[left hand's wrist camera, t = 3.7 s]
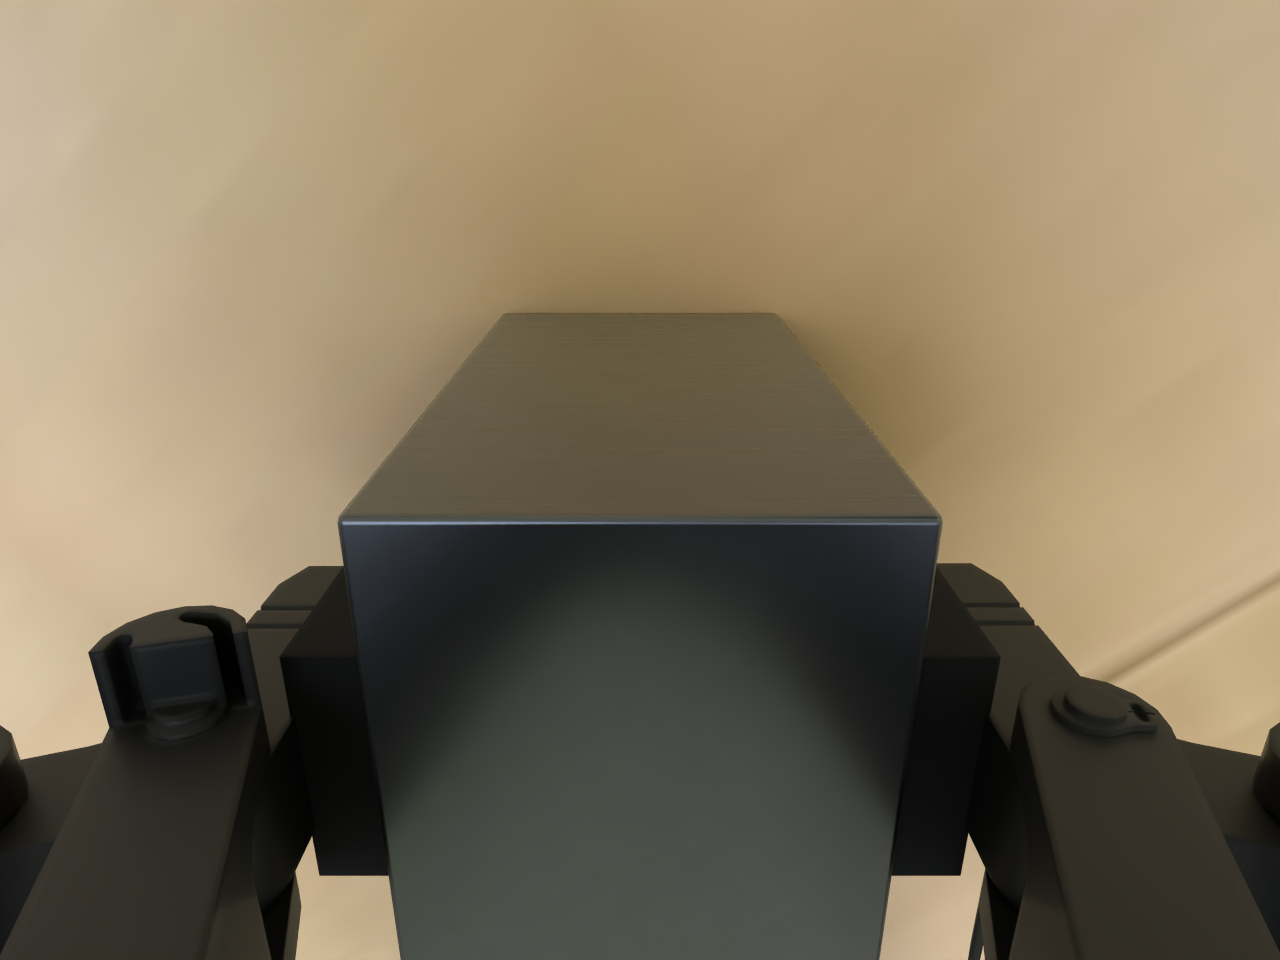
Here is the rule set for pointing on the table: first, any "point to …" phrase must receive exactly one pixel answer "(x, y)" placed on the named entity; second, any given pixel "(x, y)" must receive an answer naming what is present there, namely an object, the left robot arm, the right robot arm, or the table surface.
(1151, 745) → the left robot arm
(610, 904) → the bar
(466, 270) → the table surface
